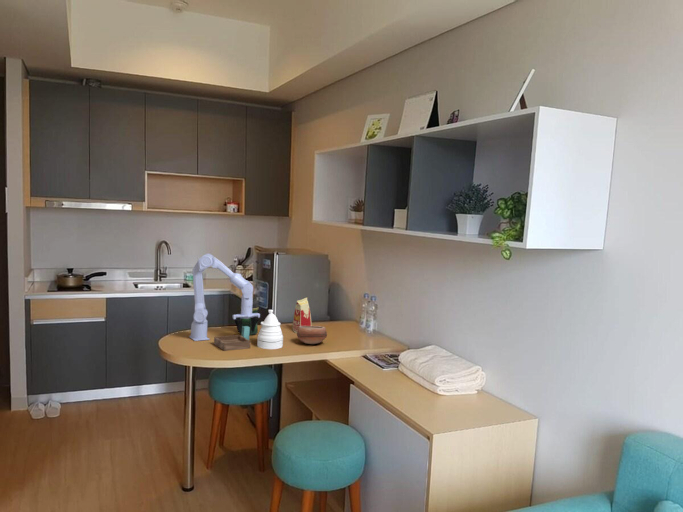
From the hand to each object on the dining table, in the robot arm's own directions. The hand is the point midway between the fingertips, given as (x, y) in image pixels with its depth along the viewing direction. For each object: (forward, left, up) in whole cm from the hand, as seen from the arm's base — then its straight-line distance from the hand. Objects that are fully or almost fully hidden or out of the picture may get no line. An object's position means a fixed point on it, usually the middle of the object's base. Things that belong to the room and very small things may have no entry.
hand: (245, 331), depth 275 cm
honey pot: (+15, +7, -5) cm, 17 cm away
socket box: (+9, -11, -4) cm, 15 cm away
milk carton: (-6, +37, -5) cm, 38 cm away
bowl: (+19, +29, -5) cm, 35 cm away
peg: (0, 0, -4) cm, 4 cm away
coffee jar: (-12, +7, -5) cm, 15 cm away
